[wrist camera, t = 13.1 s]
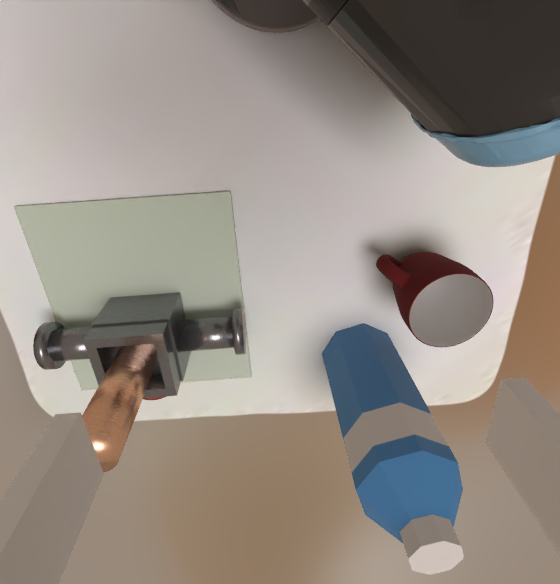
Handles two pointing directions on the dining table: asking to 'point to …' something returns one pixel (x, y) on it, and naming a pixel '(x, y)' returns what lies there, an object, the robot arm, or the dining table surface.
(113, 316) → the metal mallet head
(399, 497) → the water bottle
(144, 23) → the dining table surface
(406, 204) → the dining table surface
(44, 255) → the mat
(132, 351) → the brown mallet handle
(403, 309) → the mug
